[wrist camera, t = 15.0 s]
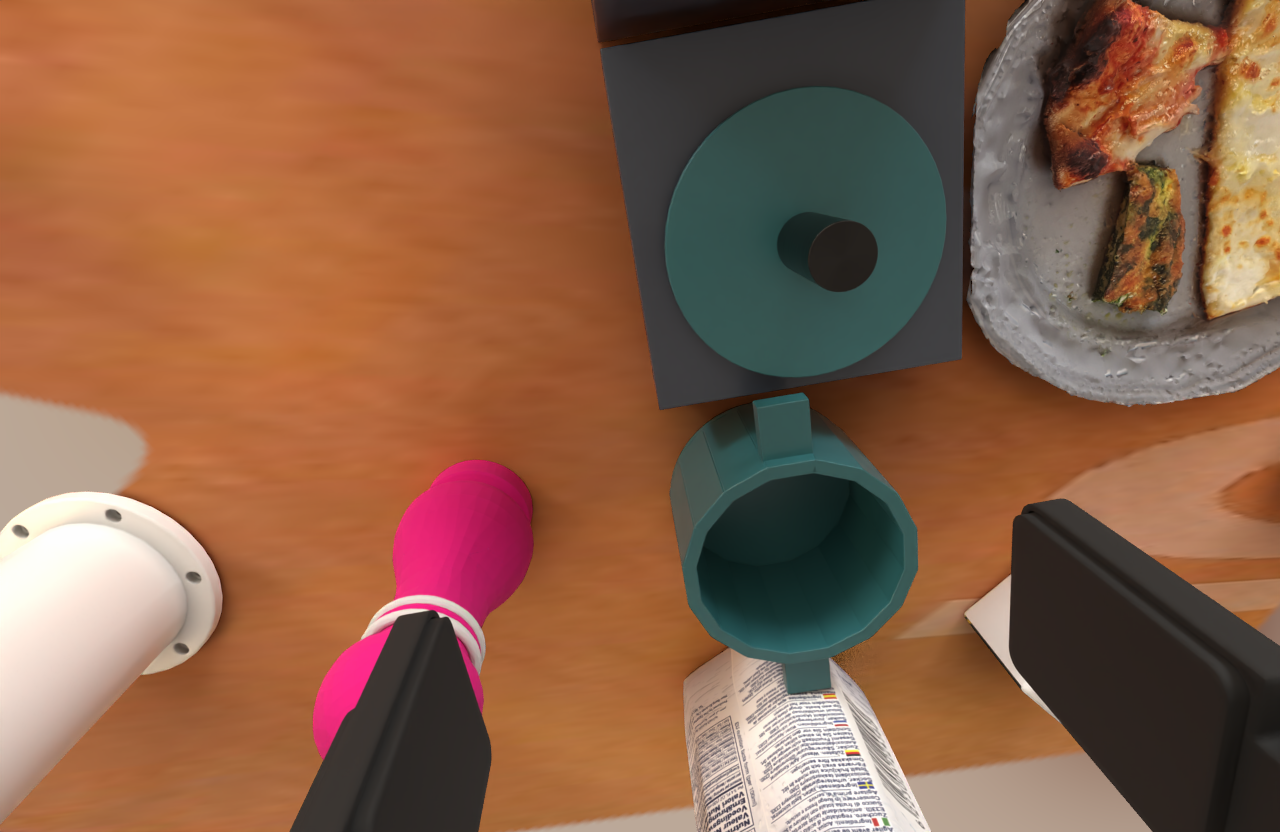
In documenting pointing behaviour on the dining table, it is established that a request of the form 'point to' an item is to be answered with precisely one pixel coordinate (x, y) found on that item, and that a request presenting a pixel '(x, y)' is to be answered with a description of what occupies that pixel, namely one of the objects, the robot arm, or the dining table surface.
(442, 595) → the pepper mill
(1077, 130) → the food plate
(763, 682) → the juice carton
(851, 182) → the lid
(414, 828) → the robot arm
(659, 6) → the grey stepped block
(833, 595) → the pot
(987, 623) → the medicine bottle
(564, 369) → the dining table surface
